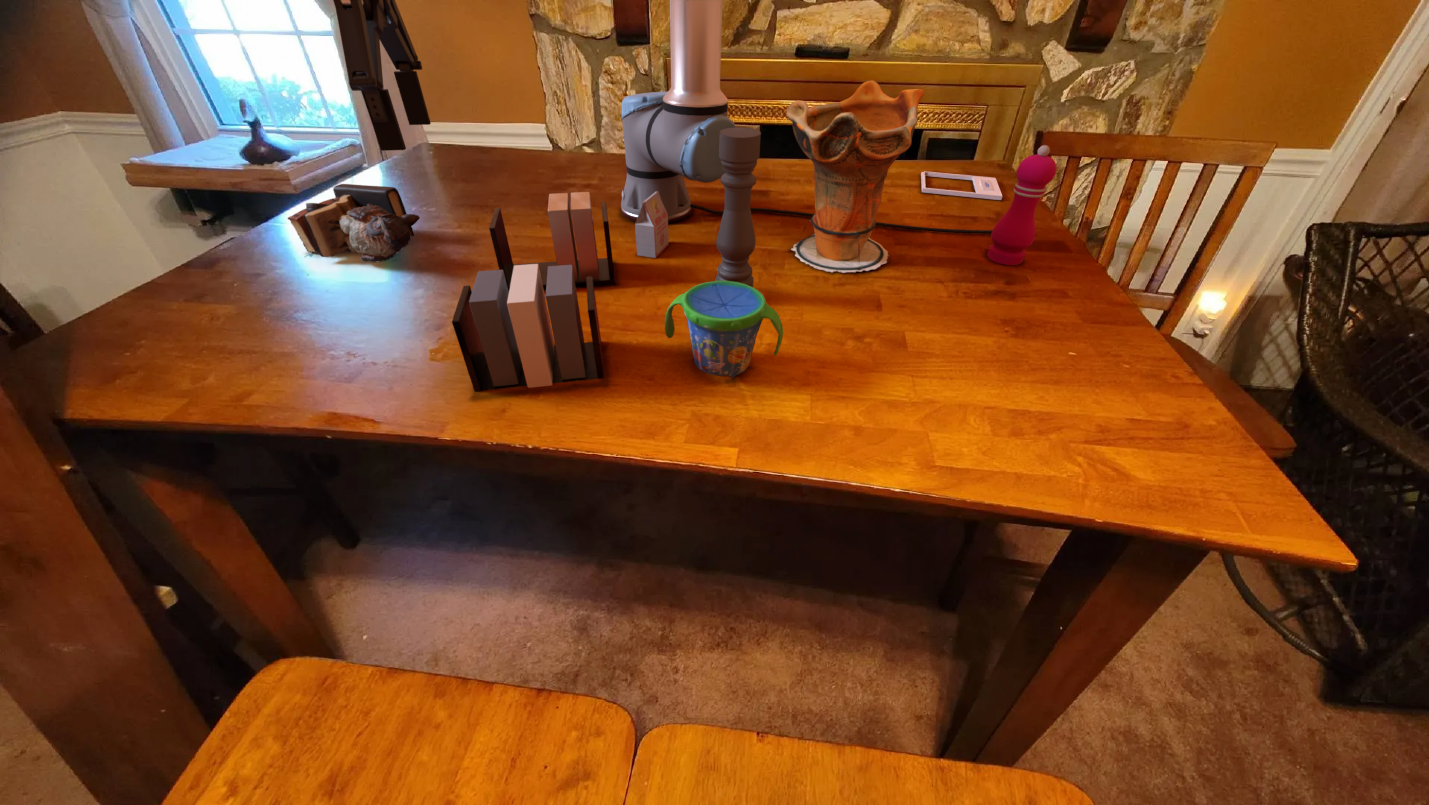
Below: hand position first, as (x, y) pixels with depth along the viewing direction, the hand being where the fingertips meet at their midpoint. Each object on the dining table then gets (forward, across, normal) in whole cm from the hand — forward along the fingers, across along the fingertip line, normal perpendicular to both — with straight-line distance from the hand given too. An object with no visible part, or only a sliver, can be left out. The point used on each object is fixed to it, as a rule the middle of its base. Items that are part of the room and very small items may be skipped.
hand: (408, 136), depth 73 cm
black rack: (+24, -6, +16) cm, 30 cm away
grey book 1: (+24, +22, +11) cm, 34 cm away
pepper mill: (+24, -3, +98) cm, 101 cm away
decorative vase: (+24, -9, +67) cm, 72 cm away
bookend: (+25, -22, -18) cm, 37 cm away
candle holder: (+24, +5, +44) cm, 51 cm away
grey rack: (+24, +22, +15) cm, 36 cm away
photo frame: (+24, -43, +111) cm, 121 cm away
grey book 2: (+24, +22, +19) cm, 37 cm away
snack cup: (+25, +24, +39) cm, 52 cm away
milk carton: (+24, -16, +33) cm, 44 cm away
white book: (+24, +22, +15) cm, 35 cm away
